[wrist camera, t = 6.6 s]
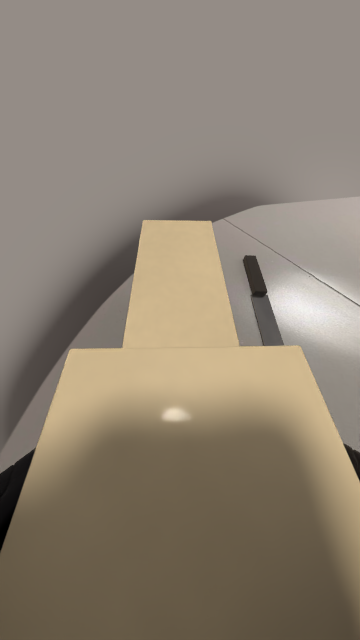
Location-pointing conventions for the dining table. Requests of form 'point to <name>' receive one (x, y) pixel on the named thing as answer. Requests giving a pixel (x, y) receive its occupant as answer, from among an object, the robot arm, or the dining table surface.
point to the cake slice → (185, 503)
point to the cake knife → (262, 304)
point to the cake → (178, 289)
